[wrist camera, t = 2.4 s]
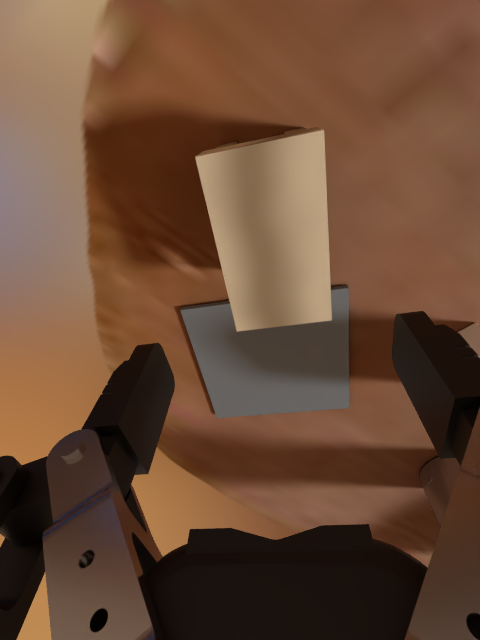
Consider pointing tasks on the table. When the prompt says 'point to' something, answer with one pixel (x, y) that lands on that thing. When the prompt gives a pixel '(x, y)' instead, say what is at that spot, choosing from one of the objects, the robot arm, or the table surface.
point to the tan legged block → (271, 227)
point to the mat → (272, 361)
